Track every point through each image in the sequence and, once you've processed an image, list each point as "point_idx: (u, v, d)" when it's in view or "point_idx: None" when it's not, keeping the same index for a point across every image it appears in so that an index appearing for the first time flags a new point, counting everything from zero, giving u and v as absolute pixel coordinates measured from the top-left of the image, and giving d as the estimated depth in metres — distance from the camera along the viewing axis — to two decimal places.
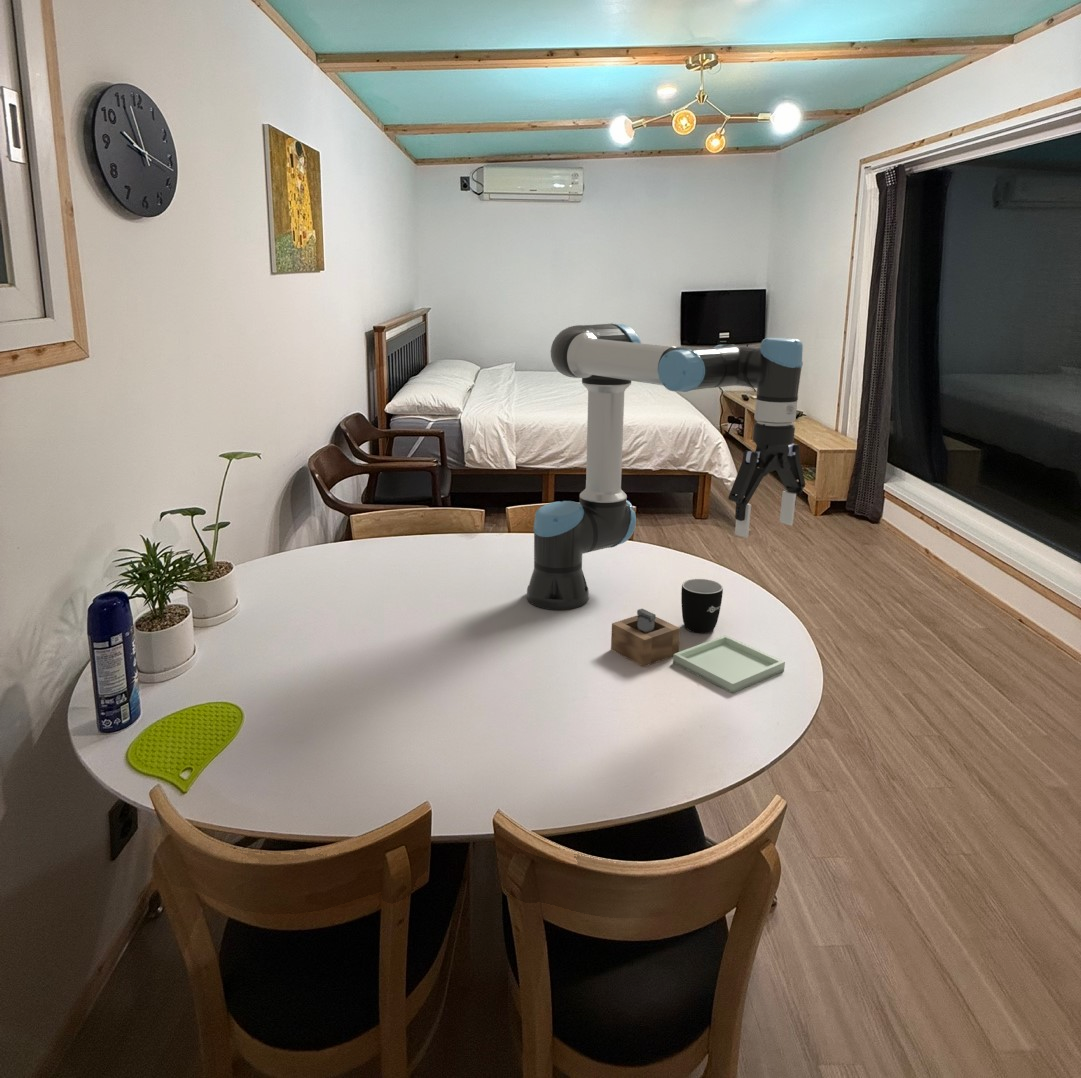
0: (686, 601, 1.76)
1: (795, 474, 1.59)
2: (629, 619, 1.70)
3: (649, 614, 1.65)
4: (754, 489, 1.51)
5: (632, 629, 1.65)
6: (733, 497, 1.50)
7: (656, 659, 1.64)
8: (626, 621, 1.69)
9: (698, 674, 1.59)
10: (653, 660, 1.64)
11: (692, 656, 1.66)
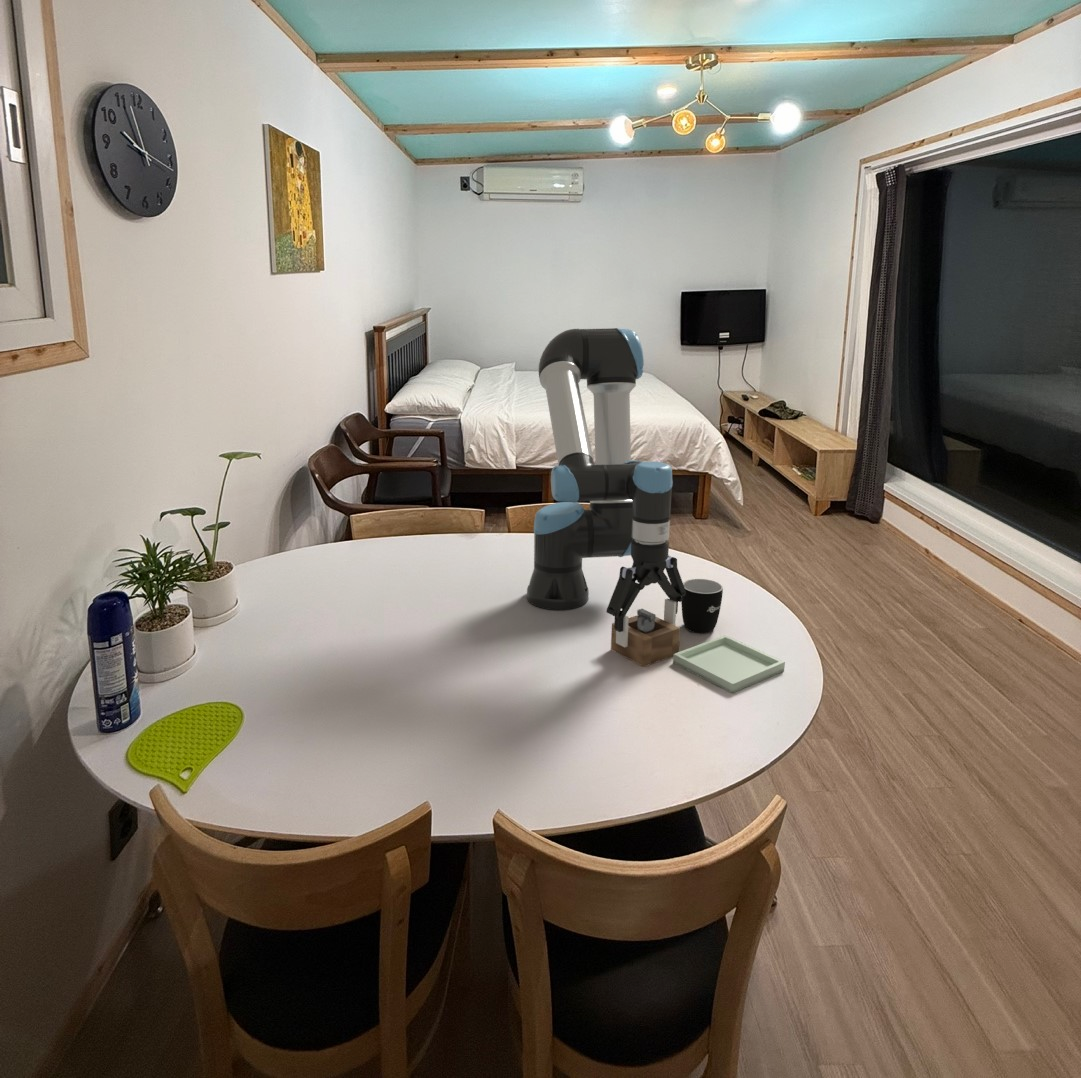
0: (686, 601, 1.76)
1: (676, 583, 1.68)
2: (629, 619, 1.70)
3: (649, 614, 1.65)
4: (631, 602, 1.60)
5: (632, 629, 1.65)
6: (610, 611, 1.59)
7: (656, 659, 1.64)
8: None
9: (698, 674, 1.59)
10: (653, 660, 1.64)
11: (692, 656, 1.66)
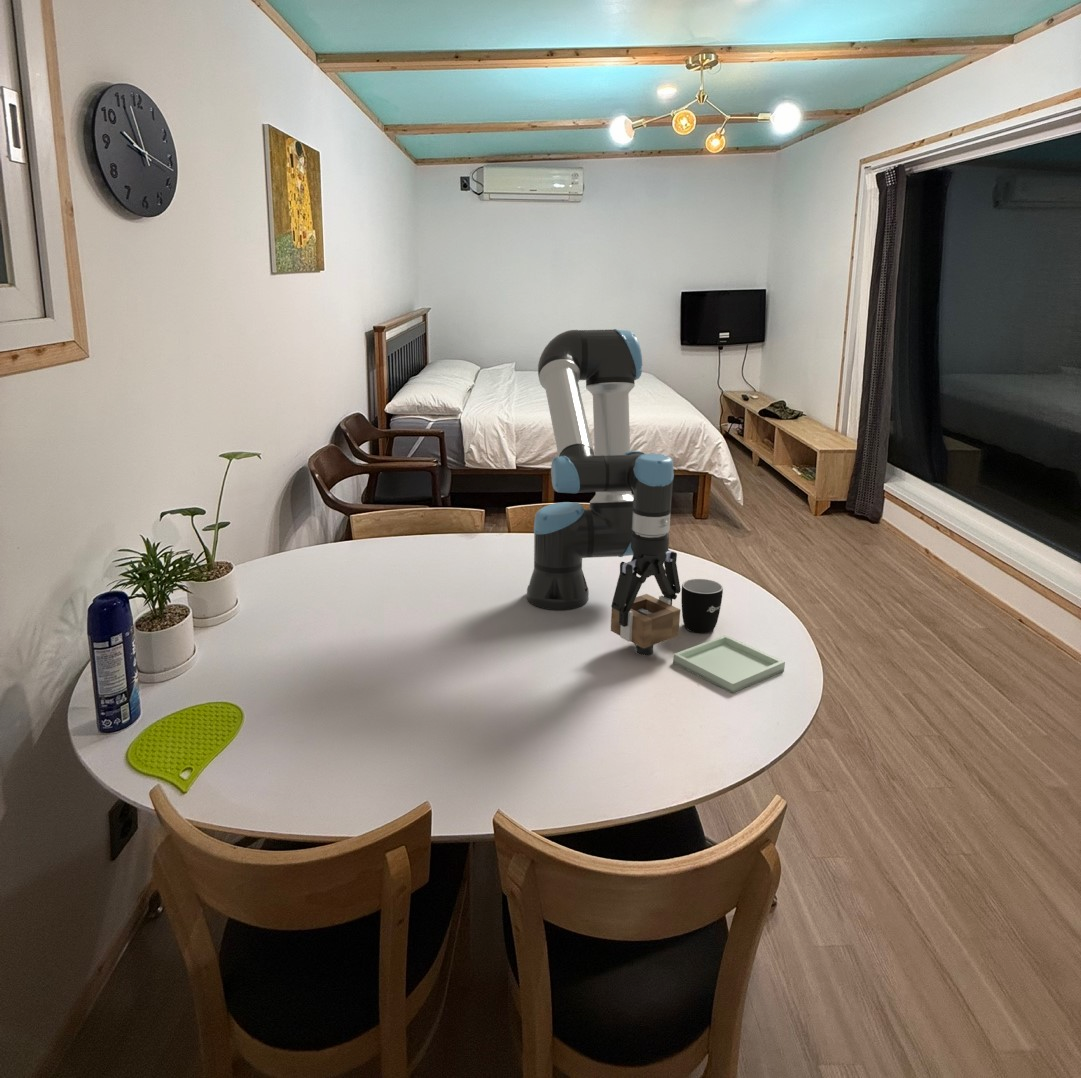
0: (686, 601, 1.76)
1: (672, 579, 1.68)
2: None
3: None
4: (634, 597, 1.61)
5: (632, 610, 1.64)
6: (615, 607, 1.61)
7: (656, 641, 1.64)
8: None
9: (698, 674, 1.59)
10: (653, 642, 1.63)
11: (692, 656, 1.66)
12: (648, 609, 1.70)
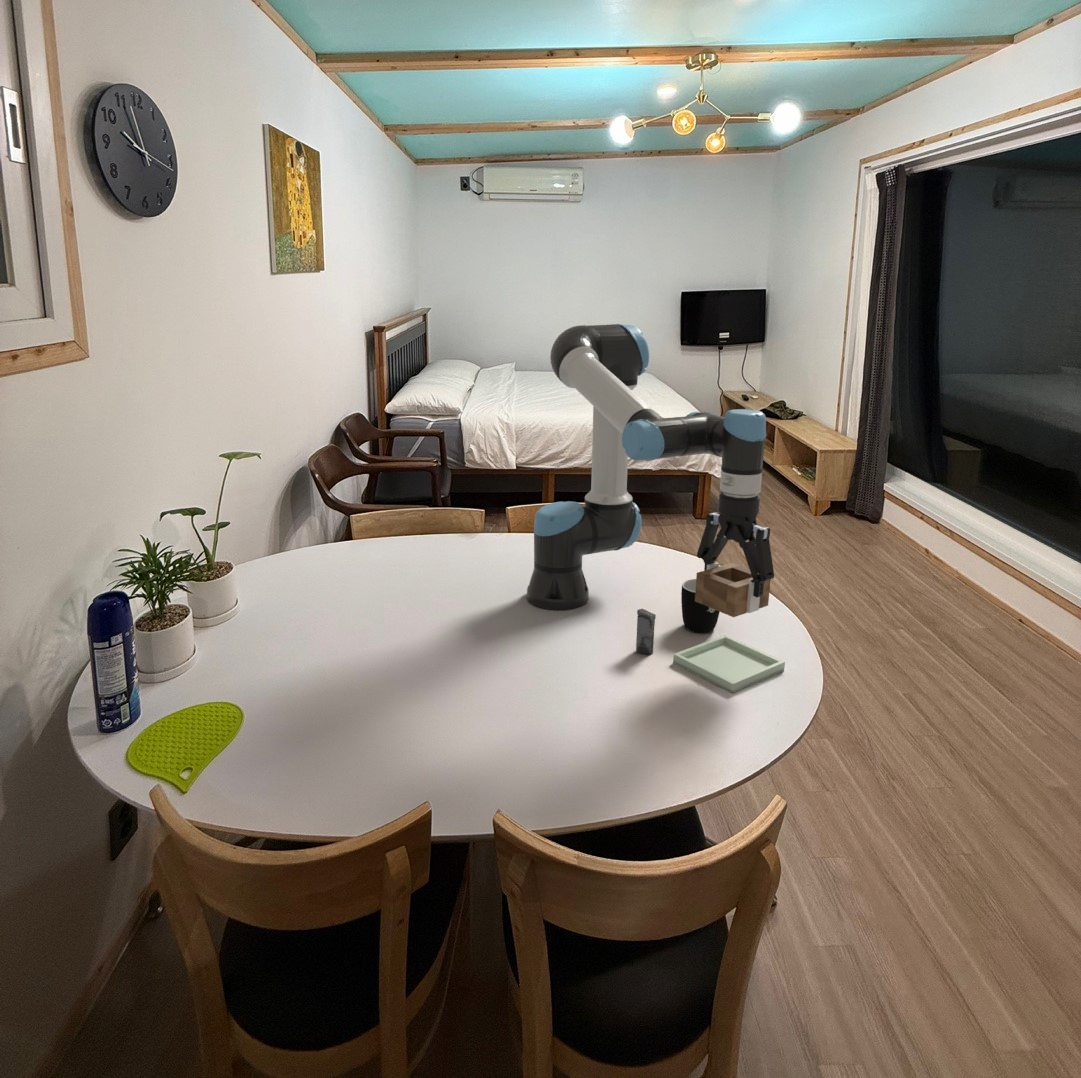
0: (686, 601, 1.76)
1: None
2: (745, 569, 1.59)
3: (649, 614, 1.65)
4: (712, 551, 1.58)
5: (720, 569, 1.59)
6: None
7: (708, 604, 1.56)
8: (740, 568, 1.60)
9: (698, 674, 1.59)
10: (705, 602, 1.57)
11: (692, 656, 1.66)
12: None
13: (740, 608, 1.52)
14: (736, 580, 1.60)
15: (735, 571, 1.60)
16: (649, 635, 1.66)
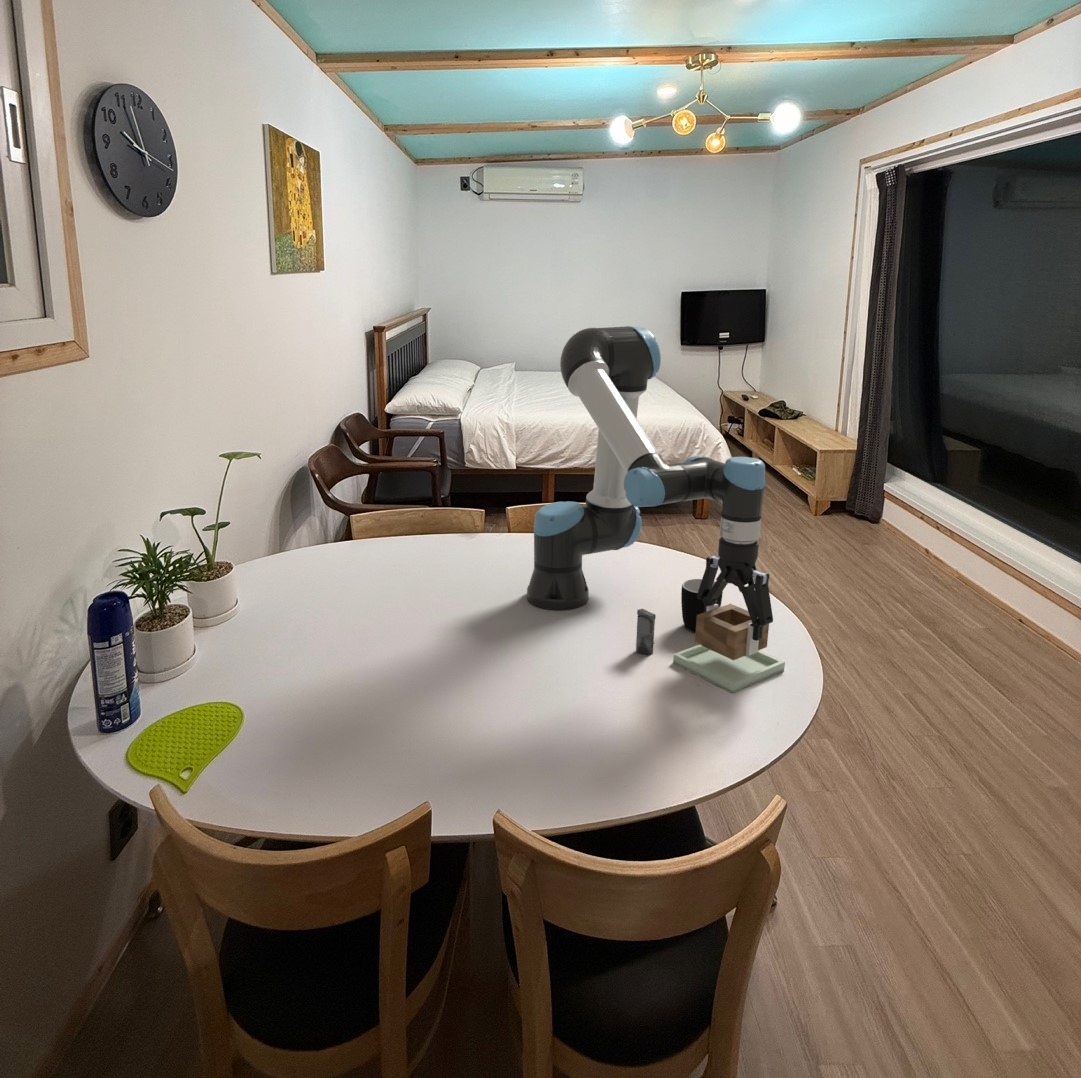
0: (686, 601, 1.76)
1: None
2: (744, 611, 1.62)
3: (649, 614, 1.65)
4: (712, 593, 1.61)
5: (719, 611, 1.62)
6: None
7: (708, 646, 1.59)
8: (739, 609, 1.63)
9: (698, 674, 1.59)
10: (705, 644, 1.60)
11: (692, 656, 1.66)
12: None
13: (740, 651, 1.55)
14: (735, 621, 1.63)
15: (734, 612, 1.63)
16: (649, 635, 1.66)
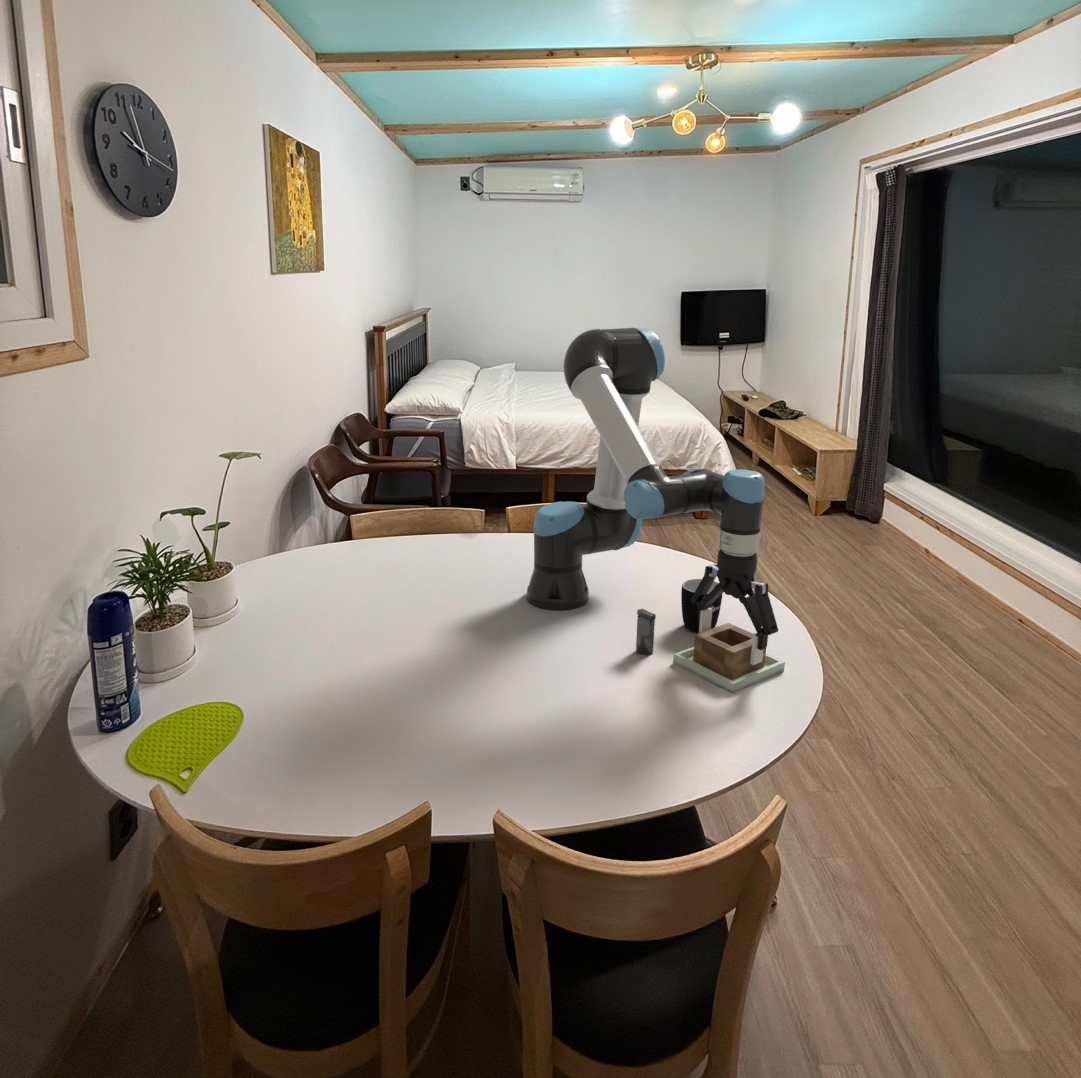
0: (686, 601, 1.76)
1: None
2: (742, 630, 1.64)
3: (649, 614, 1.65)
4: (707, 600, 1.62)
5: (717, 630, 1.63)
6: None
7: (706, 665, 1.60)
8: (737, 629, 1.64)
9: (698, 674, 1.59)
10: (703, 663, 1.61)
11: (692, 656, 1.66)
12: None
13: (737, 671, 1.56)
14: (733, 641, 1.64)
15: (732, 632, 1.64)
16: (649, 635, 1.66)
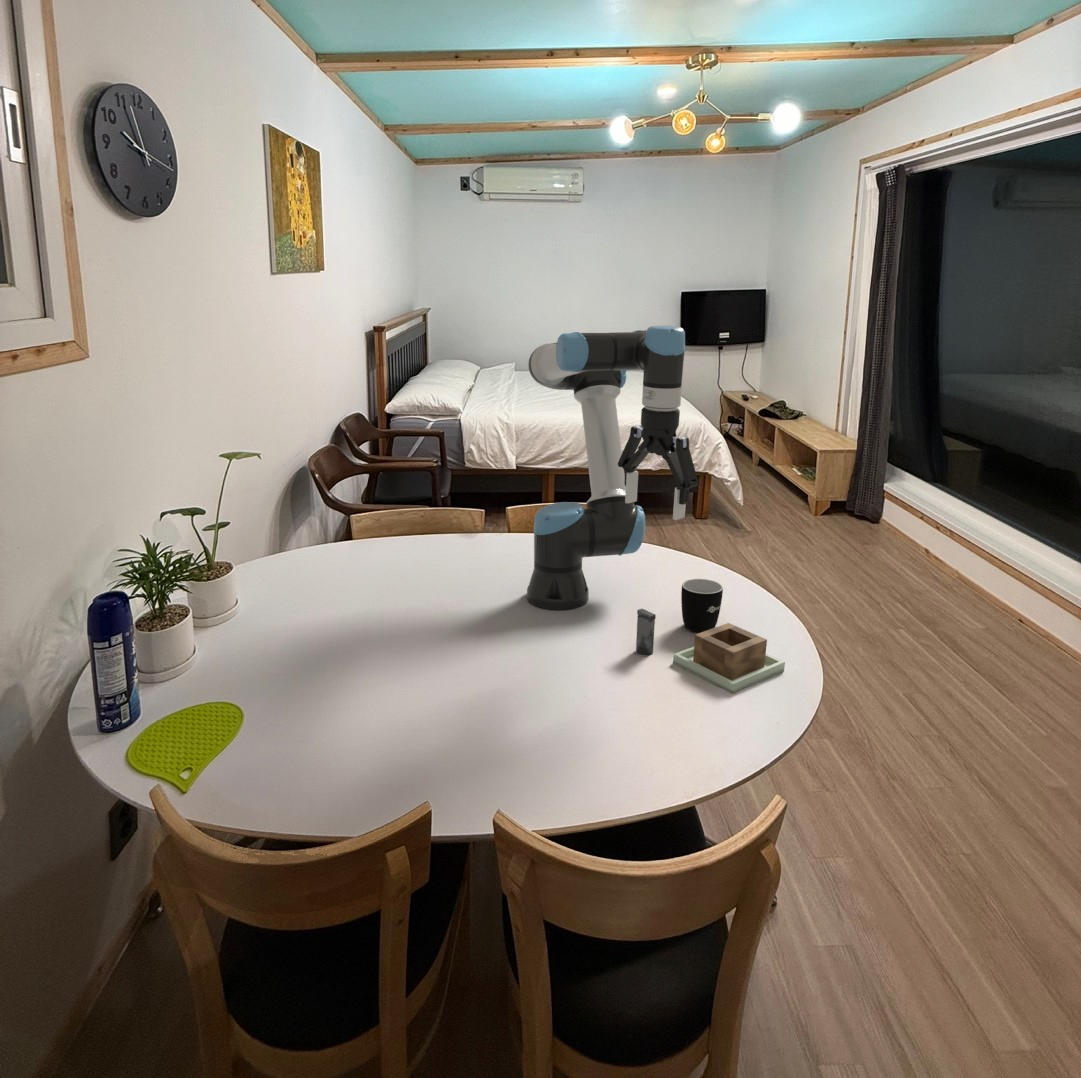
0: (686, 601, 1.76)
1: None
2: (742, 630, 1.64)
3: (649, 614, 1.65)
4: (632, 461, 1.65)
5: (717, 630, 1.63)
6: None
7: (706, 665, 1.60)
8: (737, 629, 1.64)
9: (698, 674, 1.59)
10: (703, 663, 1.61)
11: (692, 656, 1.66)
12: None
13: (737, 671, 1.56)
14: (733, 641, 1.64)
15: (732, 632, 1.64)
16: (649, 635, 1.66)
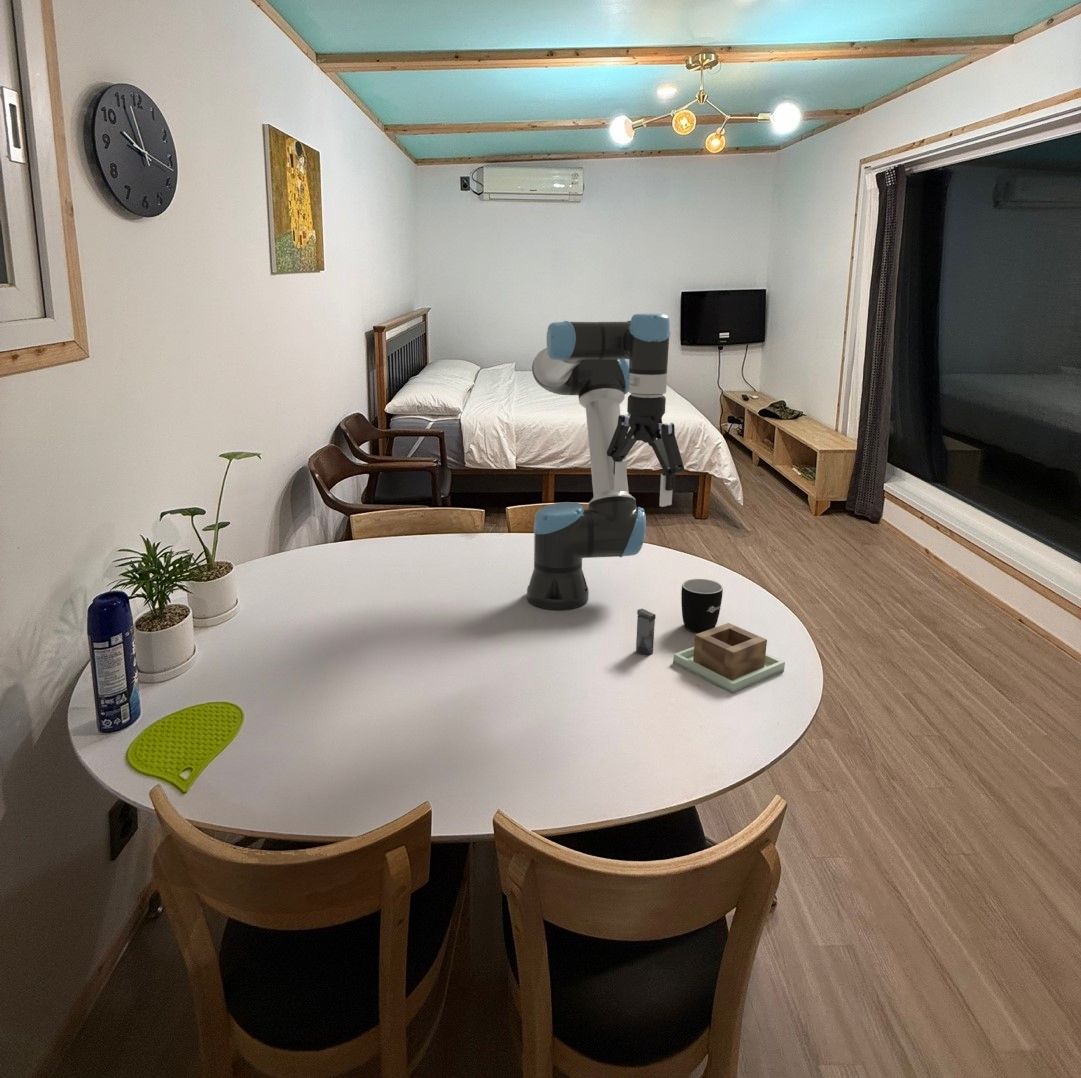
0: (686, 601, 1.76)
1: None
2: (742, 630, 1.64)
3: (649, 614, 1.65)
4: (620, 449, 1.66)
5: (717, 630, 1.63)
6: None
7: (706, 665, 1.60)
8: (737, 629, 1.64)
9: (698, 674, 1.59)
10: (703, 663, 1.61)
11: (692, 656, 1.66)
12: None
13: (737, 671, 1.56)
14: (733, 641, 1.64)
15: (732, 632, 1.64)
16: (649, 635, 1.66)
